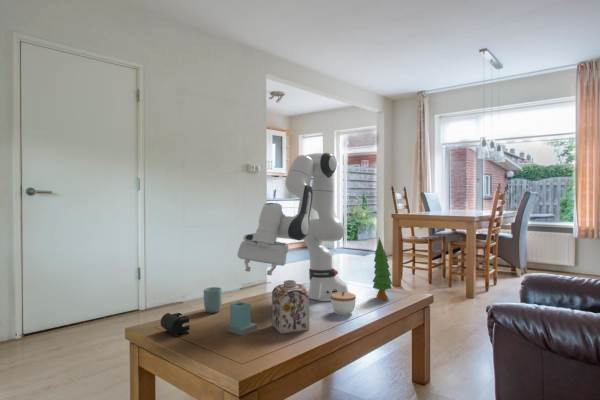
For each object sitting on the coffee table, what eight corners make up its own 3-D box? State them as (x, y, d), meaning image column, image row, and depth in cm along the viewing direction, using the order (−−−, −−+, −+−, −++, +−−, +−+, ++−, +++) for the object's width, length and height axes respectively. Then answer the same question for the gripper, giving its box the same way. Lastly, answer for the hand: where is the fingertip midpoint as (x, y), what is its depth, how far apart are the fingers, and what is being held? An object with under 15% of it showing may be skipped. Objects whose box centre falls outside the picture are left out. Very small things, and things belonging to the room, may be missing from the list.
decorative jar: (271, 325, 156) (271, 279, 156) (299, 321, 160) (299, 277, 160) (280, 334, 145) (279, 285, 145) (310, 330, 149) (309, 282, 149)
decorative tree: (369, 296, 198) (368, 236, 198) (385, 294, 202) (384, 235, 201) (380, 301, 189) (380, 238, 189) (397, 299, 193) (396, 237, 192)
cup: (217, 314, 171) (217, 291, 171) (200, 313, 173) (200, 290, 173) (224, 309, 179) (224, 287, 179) (208, 308, 181) (208, 286, 180)
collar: (240, 322, 154) (239, 301, 154) (250, 324, 151) (250, 303, 151) (230, 325, 150) (230, 304, 150) (240, 328, 147) (240, 306, 147)
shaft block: (242, 325, 156) (242, 307, 156) (257, 329, 151) (257, 311, 151) (227, 331, 150) (227, 312, 150) (242, 335, 145) (242, 316, 145)
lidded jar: (353, 318, 164) (352, 295, 164) (328, 315, 167) (327, 293, 167) (358, 310, 174) (357, 289, 174) (334, 309, 177) (333, 288, 177)
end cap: (160, 332, 150) (160, 314, 150) (178, 327, 155) (177, 310, 155) (171, 338, 143) (171, 320, 143) (190, 334, 147) (189, 315, 147)
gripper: (291, 245, 164) (284, 278, 161) (245, 238, 170) (238, 270, 166) (287, 241, 158) (280, 276, 155) (240, 234, 164) (232, 268, 160)
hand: (258, 273), depth 160 cm, fingers open, 8 cm apart
